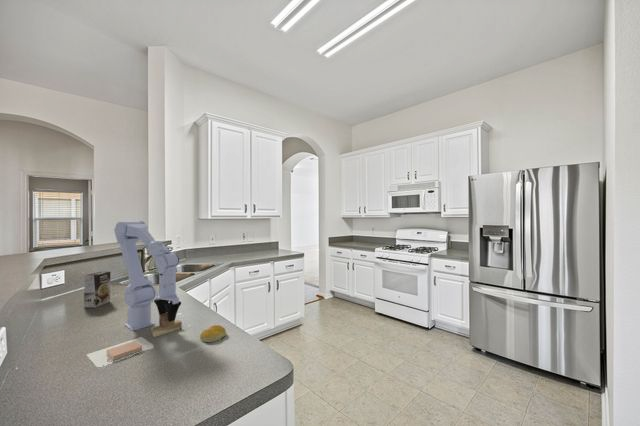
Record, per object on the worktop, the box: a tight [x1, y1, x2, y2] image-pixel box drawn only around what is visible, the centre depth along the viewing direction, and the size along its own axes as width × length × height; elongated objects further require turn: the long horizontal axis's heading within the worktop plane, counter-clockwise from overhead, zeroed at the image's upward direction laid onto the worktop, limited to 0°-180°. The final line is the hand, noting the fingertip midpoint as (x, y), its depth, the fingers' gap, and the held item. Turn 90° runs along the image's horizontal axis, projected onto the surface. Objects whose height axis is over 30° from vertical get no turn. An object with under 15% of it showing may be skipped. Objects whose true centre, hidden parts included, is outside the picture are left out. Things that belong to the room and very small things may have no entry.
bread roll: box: [199, 324, 227, 343], centre depth 100 cm, size 8×9×4 cm
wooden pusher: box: [150, 313, 183, 338], centre depth 105 cm, size 4×10×7 cm, turn 143°
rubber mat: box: [86, 336, 154, 368], centre depth 90 cm, size 13×16×1 cm
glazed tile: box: [106, 341, 142, 361], centre depth 88 cm, size 2×8×6 cm
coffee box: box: [83, 271, 112, 308], centre depth 137 cm, size 9×6×16 cm
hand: (167, 318), depth 105 cm, fingers open, 7 cm apart
